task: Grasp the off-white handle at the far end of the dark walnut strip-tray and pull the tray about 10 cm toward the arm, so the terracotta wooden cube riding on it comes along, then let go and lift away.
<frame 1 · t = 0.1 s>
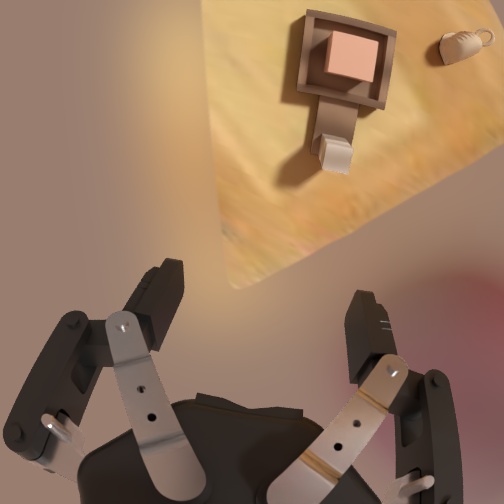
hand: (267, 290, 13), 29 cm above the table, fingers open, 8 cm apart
decorative ornament: (457, 46, 24), on the table
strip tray: (345, 88, 28), point 4 cm above the table, slide at 0.0 cm, touching terracotta cube
terracotta cube: (346, 58, 28), point 1 cm above the table, touching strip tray
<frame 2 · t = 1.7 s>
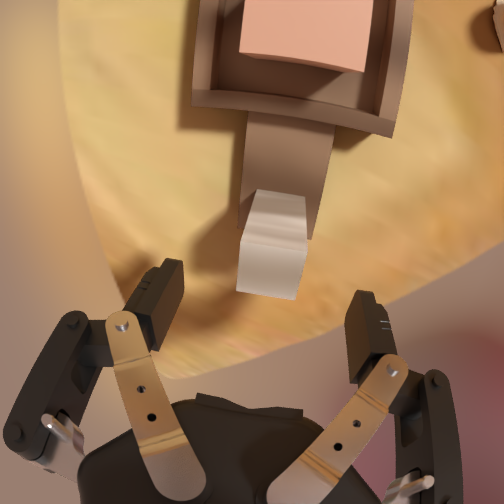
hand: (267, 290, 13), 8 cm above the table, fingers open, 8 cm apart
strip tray: (297, 90, 12), point 4 cm above the table, slide at 0.0 cm, touching terracotta cube
terracotta cube: (305, 24, 12), point 1 cm above the table, touching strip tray
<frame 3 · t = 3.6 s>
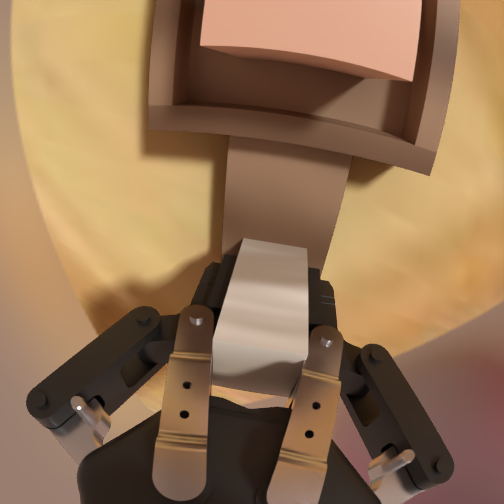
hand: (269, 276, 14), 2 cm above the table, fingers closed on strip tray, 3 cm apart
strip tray: (299, 106, 8), point 4 cm above the table, slide at 0.0 cm, touching gripper, terracotta cube
terracotta cube: (310, 9, 8), point 1 cm above the table, touching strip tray
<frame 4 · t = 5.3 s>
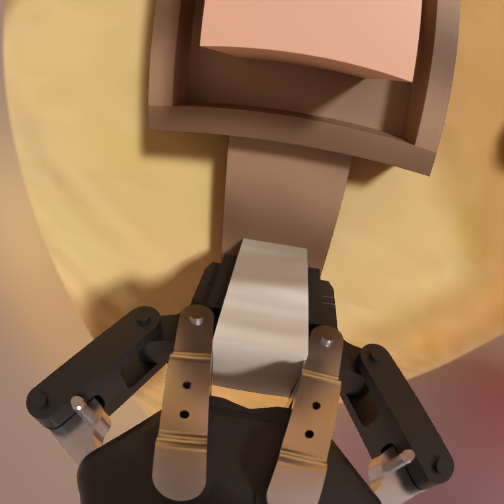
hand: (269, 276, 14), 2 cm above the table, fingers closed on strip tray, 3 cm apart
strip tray: (299, 106, 8), point 4 cm above the table, slide at 6.5 cm, touching gripper, terracotta cube
terracotta cube: (309, 9, 8), point 1 cm above the table, touching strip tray
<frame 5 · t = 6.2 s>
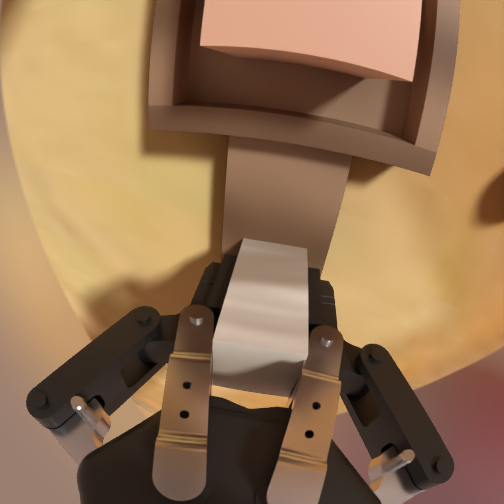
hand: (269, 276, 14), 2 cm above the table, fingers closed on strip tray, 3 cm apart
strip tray: (299, 106, 8), point 4 cm above the table, slide at 9.9 cm, touching gripper, terracotta cube
terracotta cube: (310, 9, 8), point 1 cm above the table, touching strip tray
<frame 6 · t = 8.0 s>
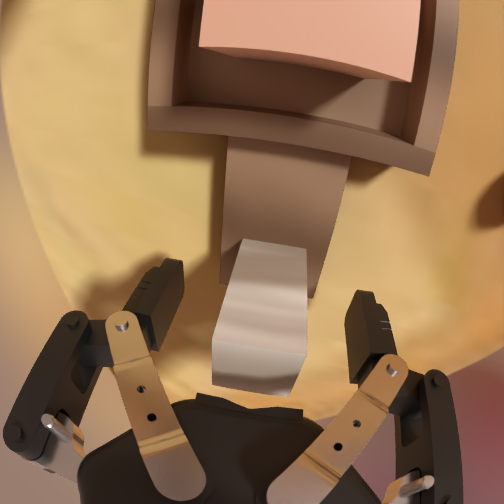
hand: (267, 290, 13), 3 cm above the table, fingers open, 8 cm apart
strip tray: (298, 107, 8), point 4 cm above the table, slide at 10.0 cm, touching terracotta cube
terracotta cube: (309, 10, 8), point 1 cm above the table, touching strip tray
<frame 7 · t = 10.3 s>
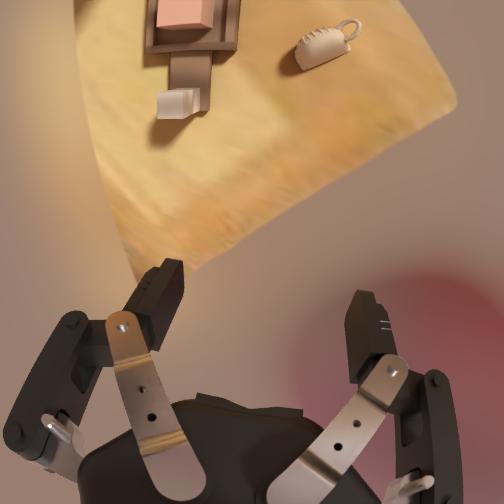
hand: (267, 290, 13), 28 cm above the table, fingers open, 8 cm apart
decorative ornament: (324, 46, 28), on the table
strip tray: (183, 38, 25), point 4 cm above the table, slide at 10.0 cm, touching terracotta cube
terracotta cube: (193, 11, 25), point 1 cm above the table, touching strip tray
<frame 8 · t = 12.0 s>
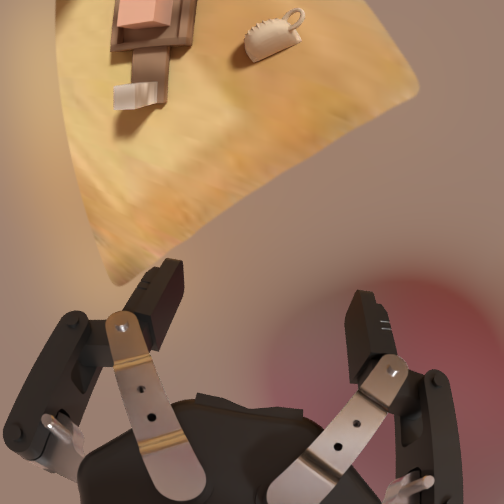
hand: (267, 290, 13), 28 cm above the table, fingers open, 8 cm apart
decorative ornament: (275, 38, 29), on the table
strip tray: (141, 35, 26), point 4 cm above the table, slide at 10.0 cm, touching terracotta cube
terracotta cube: (154, 11, 26), point 1 cm above the table, touching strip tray
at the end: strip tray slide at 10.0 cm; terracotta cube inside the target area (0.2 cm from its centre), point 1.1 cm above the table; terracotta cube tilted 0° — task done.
